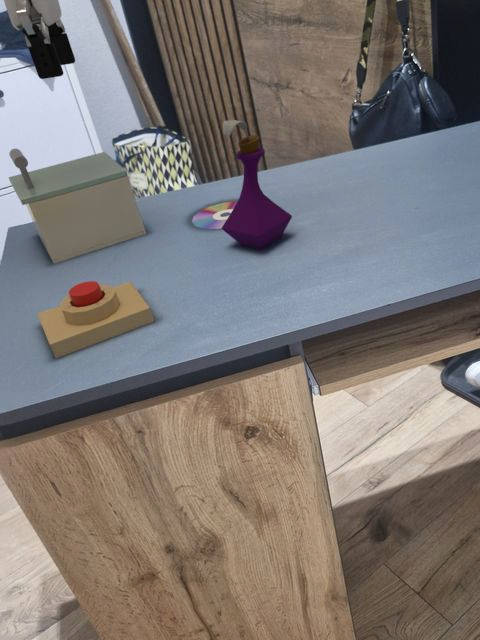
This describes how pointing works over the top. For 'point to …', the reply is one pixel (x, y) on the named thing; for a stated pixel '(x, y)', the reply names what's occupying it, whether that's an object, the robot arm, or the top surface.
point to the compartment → (87, 219)
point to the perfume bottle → (253, 199)
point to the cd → (213, 216)
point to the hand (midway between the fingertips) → (58, 70)
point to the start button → (86, 294)
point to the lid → (62, 176)
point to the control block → (94, 319)
